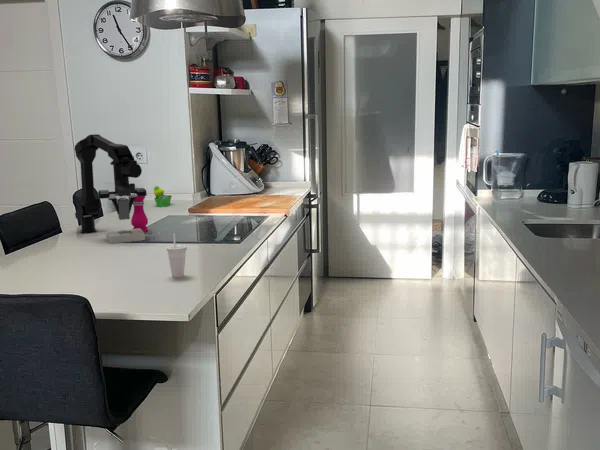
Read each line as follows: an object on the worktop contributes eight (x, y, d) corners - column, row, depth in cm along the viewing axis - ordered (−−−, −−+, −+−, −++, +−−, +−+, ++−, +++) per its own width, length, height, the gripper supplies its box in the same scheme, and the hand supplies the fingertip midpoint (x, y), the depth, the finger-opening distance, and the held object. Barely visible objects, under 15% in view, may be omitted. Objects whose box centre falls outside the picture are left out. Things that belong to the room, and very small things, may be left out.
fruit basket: (168, 207, 334) (166, 187, 332) (152, 207, 334) (150, 187, 332) (172, 204, 345) (171, 184, 343) (157, 204, 345) (156, 184, 343)
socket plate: (106, 238, 253) (106, 230, 252) (140, 235, 258) (140, 228, 257) (109, 243, 242) (109, 236, 241) (144, 240, 247) (144, 233, 247)
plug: (118, 218, 249) (117, 197, 248) (128, 217, 251) (127, 197, 249) (119, 219, 246) (118, 199, 244) (129, 219, 247) (128, 198, 246)
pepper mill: (144, 233, 261) (141, 188, 258) (128, 233, 263) (125, 187, 259) (151, 230, 268) (148, 185, 265) (136, 229, 270) (133, 185, 266)
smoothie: (169, 273, 195) (166, 231, 193) (189, 273, 196) (187, 231, 193) (166, 279, 189) (164, 235, 186) (187, 278, 189) (185, 235, 187)
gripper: (99, 179, 234) (102, 218, 237) (147, 177, 241) (149, 215, 244) (96, 176, 244) (99, 214, 247) (143, 174, 251) (145, 211, 254)
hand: (123, 213), depth 248 cm, fingers closed on plug, 4 cm apart
